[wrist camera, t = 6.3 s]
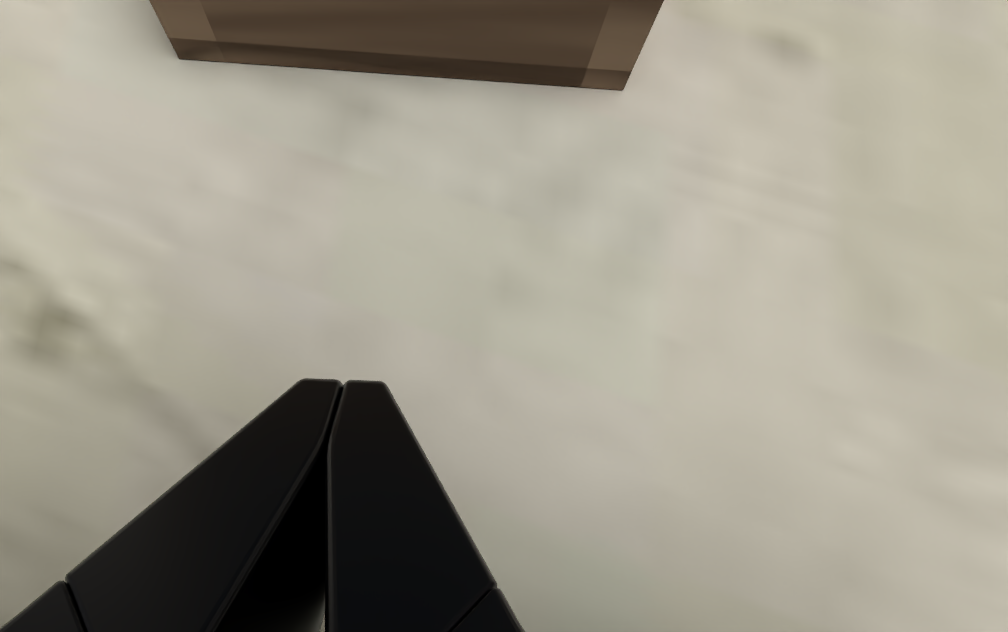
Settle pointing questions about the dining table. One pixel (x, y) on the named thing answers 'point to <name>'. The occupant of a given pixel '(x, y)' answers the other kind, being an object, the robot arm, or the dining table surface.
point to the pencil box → (422, 36)
